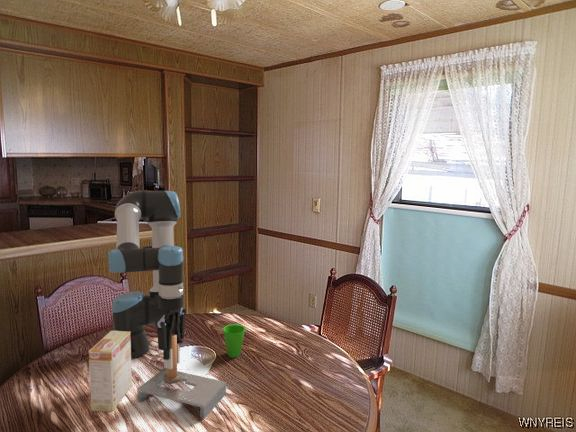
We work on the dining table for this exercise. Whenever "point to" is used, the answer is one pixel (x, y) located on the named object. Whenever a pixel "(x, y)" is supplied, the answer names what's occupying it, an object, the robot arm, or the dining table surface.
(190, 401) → the keyhole plate
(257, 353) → the dining table surface
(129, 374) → the coffeecake box
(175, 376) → the headed peg
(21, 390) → the dining table surface
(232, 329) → the cup
